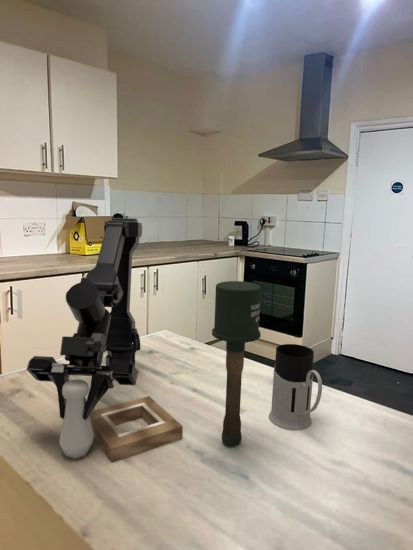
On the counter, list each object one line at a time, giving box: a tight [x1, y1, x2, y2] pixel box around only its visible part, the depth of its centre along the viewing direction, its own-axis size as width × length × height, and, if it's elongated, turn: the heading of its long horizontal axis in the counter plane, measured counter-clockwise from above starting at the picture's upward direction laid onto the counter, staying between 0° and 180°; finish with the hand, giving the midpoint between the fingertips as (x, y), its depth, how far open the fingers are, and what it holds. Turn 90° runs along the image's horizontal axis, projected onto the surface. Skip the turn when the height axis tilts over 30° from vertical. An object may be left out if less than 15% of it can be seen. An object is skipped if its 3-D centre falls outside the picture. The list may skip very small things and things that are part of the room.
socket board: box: [90, 395, 184, 463], centre depth 81 cm, size 14×14×3 cm
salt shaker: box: [58, 378, 95, 460], centre depth 73 cm, size 6×6×13 cm
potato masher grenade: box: [211, 280, 262, 448], centre depth 76 cm, size 8×9×30 cm
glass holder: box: [268, 343, 323, 431], centre depth 84 cm, size 9×14×15 cm, turn 18°
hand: (73, 418), depth 72 cm, fingers closed on salt shaker, 3 cm apart
